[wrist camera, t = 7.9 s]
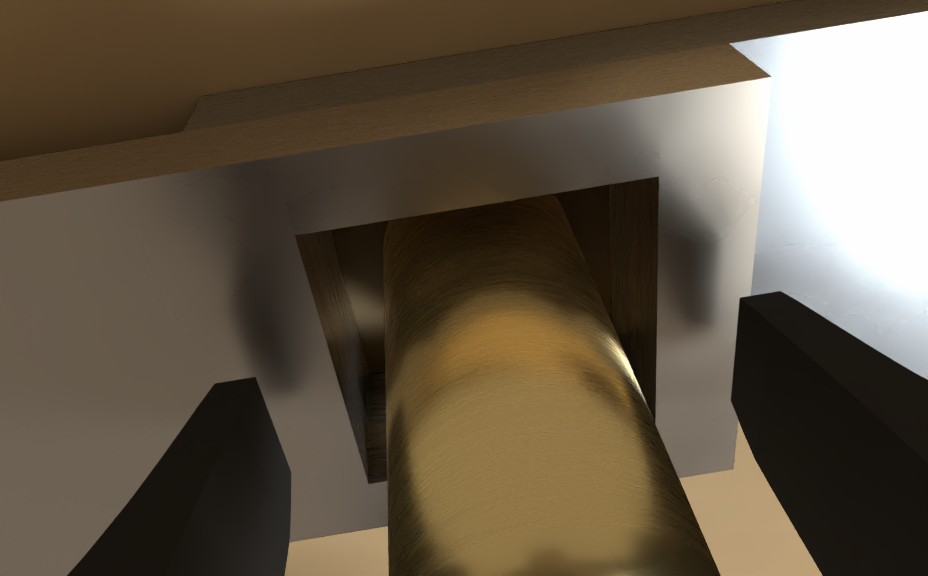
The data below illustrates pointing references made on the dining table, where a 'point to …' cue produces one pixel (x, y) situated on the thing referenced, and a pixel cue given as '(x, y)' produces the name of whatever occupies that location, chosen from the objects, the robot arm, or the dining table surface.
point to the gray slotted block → (442, 189)
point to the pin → (518, 409)
